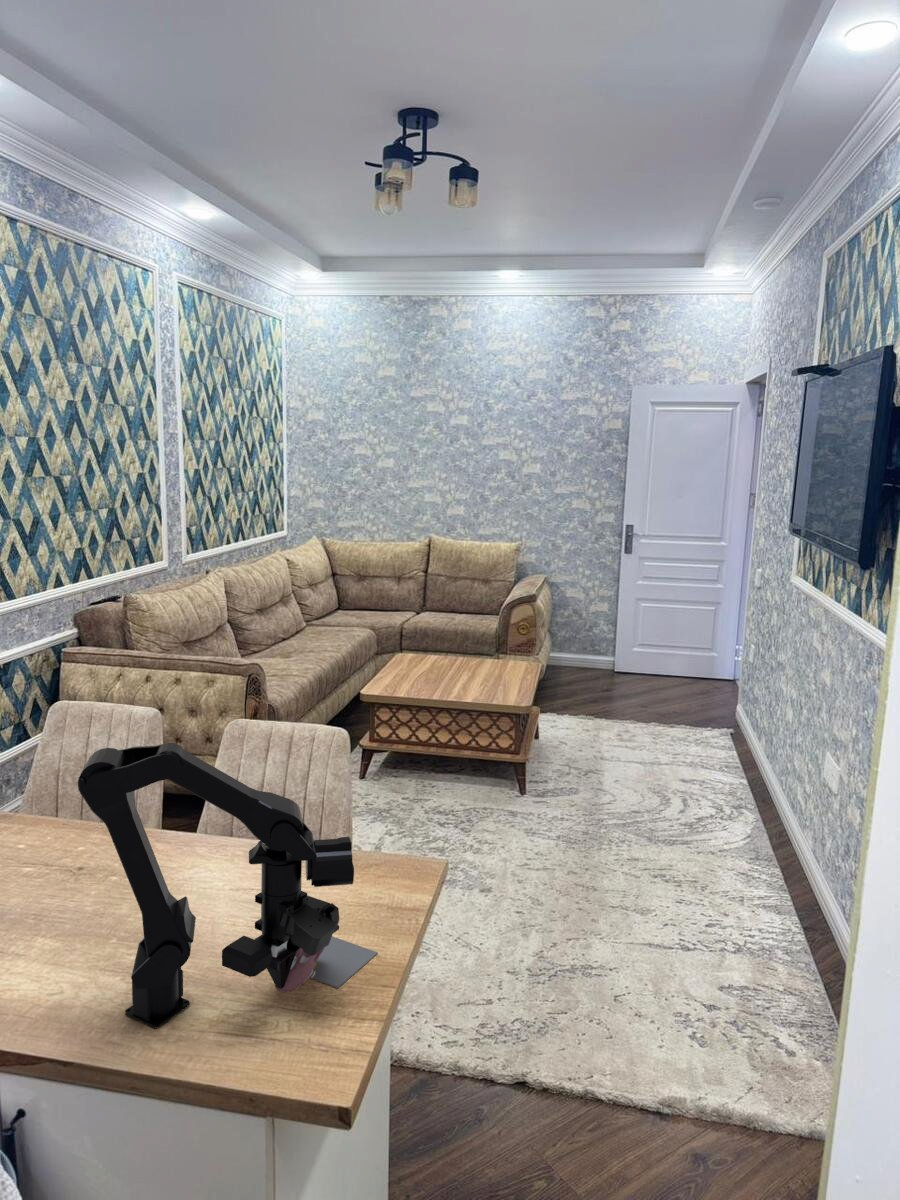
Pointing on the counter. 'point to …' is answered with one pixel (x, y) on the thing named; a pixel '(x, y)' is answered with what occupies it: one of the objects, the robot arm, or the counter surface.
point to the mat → (339, 962)
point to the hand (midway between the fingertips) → (280, 987)
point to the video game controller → (300, 970)
